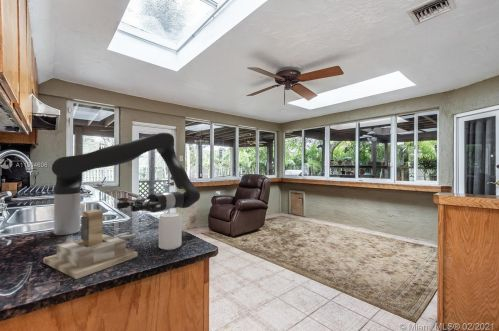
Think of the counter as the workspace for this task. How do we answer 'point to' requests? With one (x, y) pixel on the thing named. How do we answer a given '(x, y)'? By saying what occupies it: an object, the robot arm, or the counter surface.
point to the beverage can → (170, 231)
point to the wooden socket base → (89, 256)
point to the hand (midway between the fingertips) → (124, 207)
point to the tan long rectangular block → (92, 227)
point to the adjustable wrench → (125, 236)
